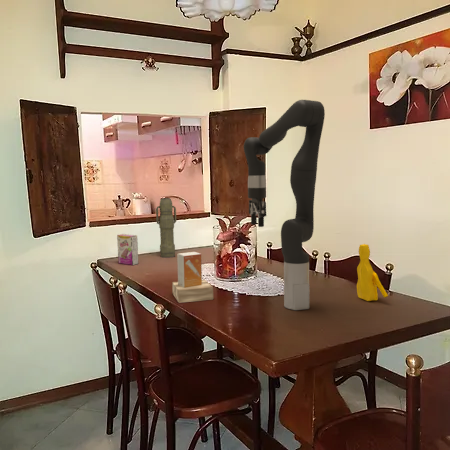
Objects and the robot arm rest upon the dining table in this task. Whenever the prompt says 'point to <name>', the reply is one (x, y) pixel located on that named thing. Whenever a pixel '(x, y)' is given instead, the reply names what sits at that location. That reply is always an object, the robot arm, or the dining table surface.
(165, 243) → the thermos
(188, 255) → the small box
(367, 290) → the figure statuette
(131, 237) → the candy bar box
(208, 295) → the birch block
